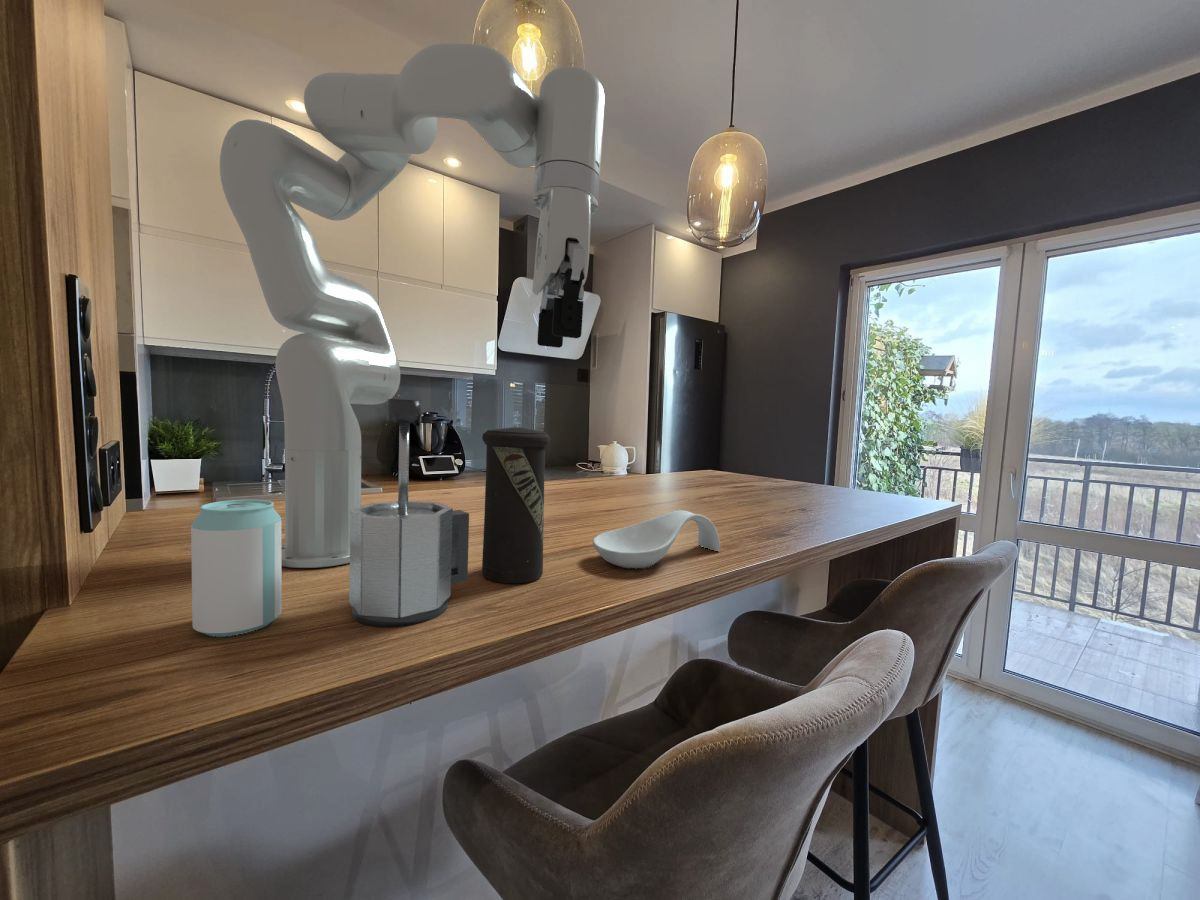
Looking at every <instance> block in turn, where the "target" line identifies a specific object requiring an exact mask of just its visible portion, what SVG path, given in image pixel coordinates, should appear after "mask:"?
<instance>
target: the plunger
mask: <svg viewBox="0 0 1200 900" xmlns="http://www.w3.org/2000/svg"><path fill="white" fill-rule="evenodd" d="M422 404H423V401H422V400H419V399H400V398H399V399H396V398H391V399H388V401H387V407H386V408H387V409H386V410H387V412H386V413H387V414H386V419H387V420H386V422H387V423H396V424H397V423H398V425H399V428H398V429H399V431H398V435H399V436H398V441H399V442H398V445H399V447H398V484H397V485H398V493H397V494H398V495H397V496H398V497H397V498H398V499H397V501H398V509H389V510H382V511H377V512H373V513H371V514H369V516H385V517H410V516H419V515H429V514H434V513H435V512H433V511H430V510H425V509H411V508H408V501H409V475H410V474H409V470H410V469H409V467H410V464H409V463H410V424H422V413H423V412H422V410H423V409H422Z"/></svg>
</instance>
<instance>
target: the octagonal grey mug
mask: <svg viewBox="0 0 1200 900" xmlns="http://www.w3.org/2000/svg"><path fill="white" fill-rule="evenodd" d="M408 508H411V509H425V510H430V511H433V512H435V513H434V514H429V515H419V516H410V517H385V516H369V514H371V513H373V512H377V511H382V510H389V509H398V500H395V501H383V502H374V503H373V502H371V503H367V504H365V505H361V507H358V508H355V509H352V510H350V563H349V598H348V599H349V604H350V606H351V617H352V618H353V620H354V621H356V622H357V623H359V624H363V625H366V626H372V627H378V628H380V627H381V628H394V627H395V628H396V627H398V628H399V627H405V626H411V625H417V624H421V623H425V622H427V621H430V620H432V619H434V618H437V617H438V616H440V615H442V614H444V613H445V612H446V611H447V609H448V607H449V598H450V597H451V589H452V588H451V587H452V585H453V584H458V583H462V582H467V581H468V580H469V579H468V577H469V576H468V571H469V570H468V569H469V538H470V537H469V536H470V534H469V533H470V528H469V527H470V513H469V512H466V511H464V510H461V509H458V510H457V509H456V510H453V509H454V508H453V507H451V506H448V505H446V504H443V503H441V502H436V501H419V500H408Z"/></svg>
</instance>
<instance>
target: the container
mask: <svg viewBox="0 0 1200 900" xmlns="http://www.w3.org/2000/svg"><path fill="white" fill-rule="evenodd" d="M481 438H482V441H483V443H484V444H485V445H486V452H485V453H486V455H485V456H486V460H485V465H486V467H485V486H484V487H485V489H484V490H485V491H484V493H485V494H484V517H483V542H482V558H481V559H482V560H481V561H482V562H481V565H482V567H481V569H482V570H481V571H482V575H483V577H484V578H486V579H487V580H488V581H492V582H496V583H500V584H501V583H502V584H503V583H504V584H523V583H525V584H526V583H530V582H535V581H536V580H538V579H540V578H541V577H542V575H543V574H544V573H543V569H544V568H543V567H544V527H545V525H544V524H545V523H544V522H545V521H544V520H545V472H546V471H545V469H546V447H548V445H549V444H550V442H551V437H550V436H549V434H547V432H545V431H542V430H536V429H529V428H525V427H503V428H502V427H501V428H497V429H487V430H486V431H485V432H484V433H483V434H482V436H481Z"/></svg>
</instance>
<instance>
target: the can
mask: <svg viewBox="0 0 1200 900" xmlns="http://www.w3.org/2000/svg"><path fill="white" fill-rule="evenodd" d="M274 505H275V503H274V502H273V501H271V500H265V499H232V500H221V501H215V502H210V503H209V502H208V503H206V504H202V505H201V506H200V507H199V510H200V511H199V514H198V516H196V518H195V519H194V520H193V521H192V523H191V525H190V535H191V536H190V537H191V539H190V540H191V542H190V543H191V544H190V545H191V551H190V552H191V600H192V602H191V605H192V606H191V609H192V610H191V611H192V613H191V615H192V617H191V619H192V620H191V623H192V629H193V630H195V631H197V632H199V633H202V634H204V635H207V636H208V637H214V638H215V636H216V638H225V637H226V636H228V637H235V636H234V635H236V636H239V635H238V634H242V635H244V634H243V633H246V632H250V633H252V632H251V631H253V632H255V631H254V630H256V631H258V629H259V630H261V629H262V628H265V627H266V626H268V625H269V624H271V622H273V621H274V620H276V619H277V618H278V617H279V616H280V615H281V614H282V566H281V546H282V517H281V516H280V514H279V513H278V512H277V510H276V509H275V508H274ZM260 628H261V629H260ZM246 634H247V633H246ZM232 635H233V636H232ZM226 638H227V637H226Z"/></svg>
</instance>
